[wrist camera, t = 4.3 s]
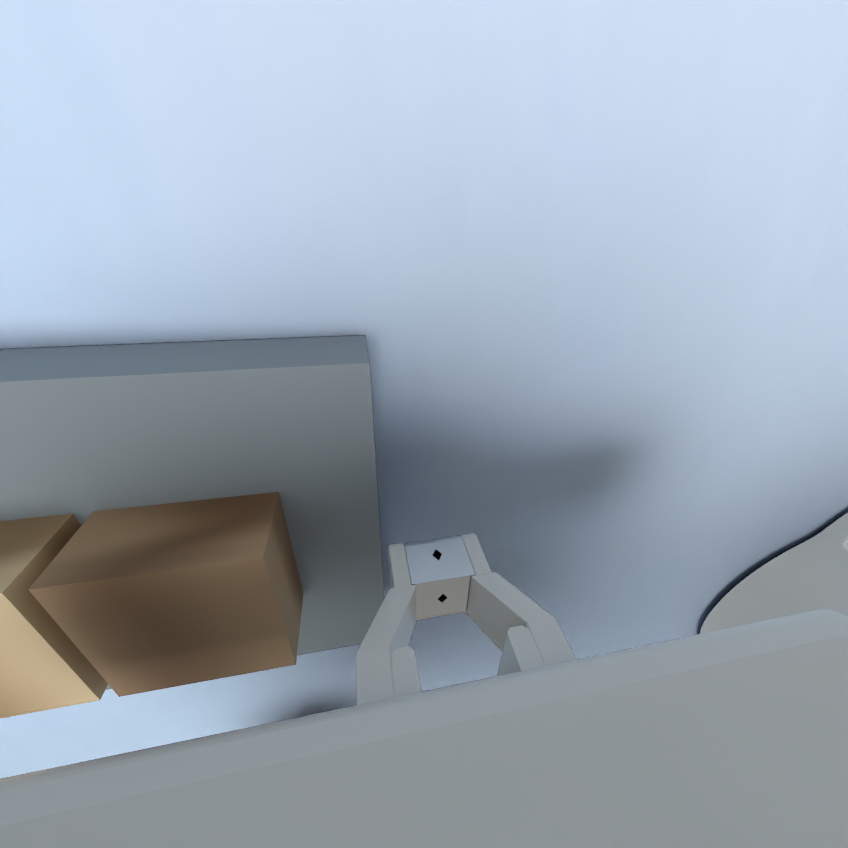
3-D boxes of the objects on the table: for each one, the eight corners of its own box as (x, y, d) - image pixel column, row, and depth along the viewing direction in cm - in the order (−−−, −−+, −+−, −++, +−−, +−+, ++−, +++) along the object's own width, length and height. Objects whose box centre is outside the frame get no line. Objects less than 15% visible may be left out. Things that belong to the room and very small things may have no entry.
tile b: (278, 491, 11) (263, 558, 9) (303, 593, 14) (295, 664, 12) (93, 511, 10) (27, 589, 8) (156, 616, 13) (119, 696, 11)
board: (365, 335, 12) (369, 363, 10) (382, 589, 18) (387, 639, 16) (-183, 356, 9) (-337, 398, 7) (62, 639, 16) (20, 704, 14)
